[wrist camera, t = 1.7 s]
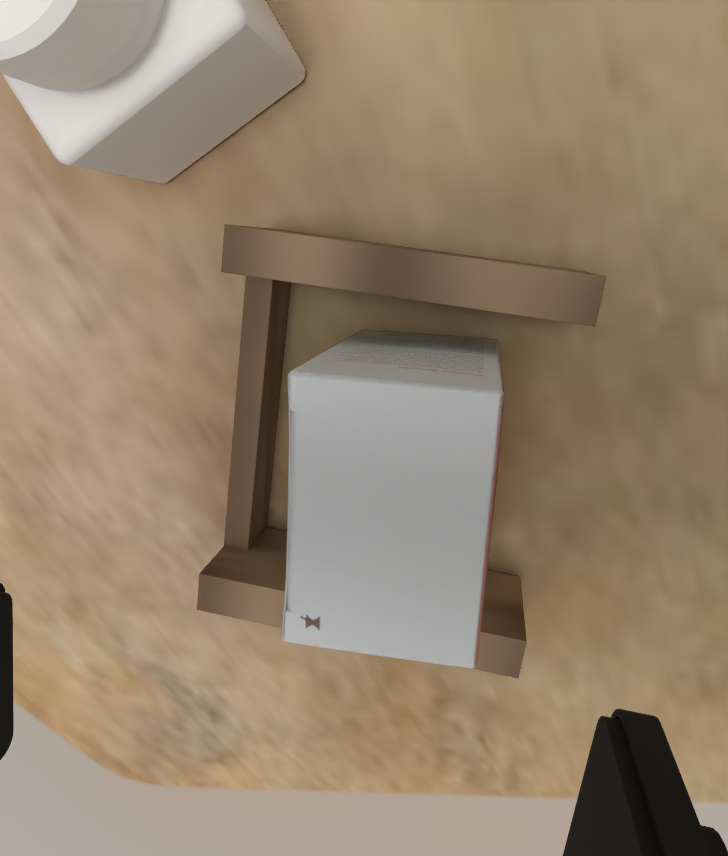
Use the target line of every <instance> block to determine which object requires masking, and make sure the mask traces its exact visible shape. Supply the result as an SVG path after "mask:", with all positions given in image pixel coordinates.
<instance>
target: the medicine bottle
mask: <svg viewBox="0 0 728 856" xmlns="http://www.w3.org/2000/svg"><path fill="white" fill-rule="evenodd" d="M0 73H1V74H2V75H3V76H4V78H5V80H6V81H7V83H8V84H9V86H10V87H11V89H12V91H13V92H14V94H15V95H16V97H17V98H18V100H19V101H20V103H21V105H22V106H23V108H24V109H25V111H26V112H27V114H28V115H29V117H30V119H31V120H32V122H33V123H34V125H35V126H36V128H37V130H38V131H39V133H40V134H41V136H42V137H43V139H44V140H45V142H46V144H47V145H48V147H49V148H50V150H51V151H52V153H53V154H54V156H55V157H56V158H57V159H58V160H59V161H60V162H61V163H62V164H66V165H71V166H76V167H81V168H86V169H91V170H96V171H101V172H106V173H111V174H117V175H122V176H127V177H132V178H137V179H142V180H147V181H152V182H157V183H162V184H163V183H166V182H168V181H170V180H171V179H172V178H174V177H175V176H176V175H178V174H179V173H180V172H182V171H183V170H184V169H186V168H187V167H188V166H190V165H191V164H193V163H194V162H195V161H197V160H198V159H199V158H201V157H202V156H203V155H205V154H206V153H207V152H209V151H210V150H211V149H213V148H214V147H215V146H217V145H218V144H219V143H221V142H222V141H223V140H225V139H226V138H227V137H229V136H230V135H231V134H233V133H234V132H235V131H237V130H238V129H239V128H241V127H242V126H243V125H245V124H246V123H247V122H249V121H250V120H251V119H253V118H254V117H255V116H257V115H258V114H259V113H261V112H262V111H263V110H265V109H266V108H267V107H269V106H270V105H271V104H273V103H274V102H276V101H277V100H278V99H280V98H281V97H282V96H284V95H285V94H286V93H288V92H289V91H290V90H292V89H293V88H294V87H296V86H297V85H298V84H300V83H301V82H302V81H303V80H304V78H305V69H304V66H303V64H302V63H301V61H300V59H299V57H298V56H297V54H296V52H295V50H294V49H293V47H292V45H291V44H290V42H289V40H288V38H287V37H286V35H285V33H284V32H283V30H282V28H281V26H280V25H279V23H278V21H277V19H276V18H275V16H274V14H273V13H272V11H271V9H270V7H269V6H268V4H267V2H266V0H0Z"/></svg>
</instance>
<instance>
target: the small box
mask: <svg viewBox="0 0 728 856" xmlns="http://www.w3.org/2000/svg"><path fill="white" fill-rule="evenodd" d="M288 402H289V472H288V521H287V557H286V582H285V601H284V611H283V625H282V637H281V638H282V640H283V641H284V642H289V643H296V644H302V645H309V646H315V647H321V648H329V649H335V650H342V651H349V652H356V653H363V654H370V655H377V656H384V657H391V658H398V659H405V660H411V661H418V662H425V663H432V664H440V665H447V666H456V667H464V668H469V669H473V668H475V667H476V666H477V661H478V651H479V641H480V631H481V622H482V613H483V604H484V595H485V586H486V577H487V569H488V560H489V551H490V543H491V533H492V523H493V513H494V503H495V493H496V482H497V471H498V460H499V448H500V435H501V424H502V413H503V402H504V389H503V381H502V372H501V366H500V357H499V351H498V342H497V341H496V340H489V339H478V338H467V337H454V336H440V335H426V334H413V333H399V332H384V331H367V330H361V331H359V332H357V333H356V334H354V335H352V336H351V337H349V338H347V339H345V340H344V341H342V342H340V343H338V344H336V345H334V346H333V347H331V348H329V349H328V350H326V351H324V352H322V353H321V354H319V355H317V356H316V357H314V358H312V359H310V360H309V361H307V362H305V363H304V364H302V365H300V366H298V367H297V368H295V369H293V370H292V371H290V372H289V374H288Z"/></svg>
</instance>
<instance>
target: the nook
mask: <svg viewBox="0 0 728 856" xmlns="http://www.w3.org/2000/svg"><path fill="white" fill-rule="evenodd" d="M221 272H226V273H232V274H239V275H246V283H245V295H244V308H243V320H242V332H241V344H240V357H239V369H238V381H237V393H236V405H235V418H234V430H233V442H232V454H231V467H230V479H229V491H228V503H227V516H226V528H225V540H224V547H223V548H222V549H221V550H220V551H219V552H218V554H217V555H216V556H215V557H214V558H213V559H212V560H211V561H210V563H209V564H208V565H207V566H206V567H205V568H204V569H203V570H202V572H201V573H200V574H199V588H198V602H197V610H201V611H206V612H210V613H215V614H220V615H224V616H229V617H234V618H238V619H243V620H248V621H252V622H257V623H262V624H266V625H271V626H276V627H281V628H282V625H283V611H284V601H285V582H286V557H287V531H284V530H278V529H273V528H268V527H267V517H268V507H269V497H270V487H271V477H272V467H273V457H274V446H275V436H276V426H277V416H278V406H279V396H280V386H281V376H282V366H283V356H284V345H285V335H286V325H287V315H288V305H289V295H290V285H291V282H294V283H301V284H308V285H314V286H321V287H328V288H335V289H342V290H349V291H356V292H362V293H369V294H376V295H383V296H390V297H397V298H403V299H410V300H417V301H424V302H431V303H438V304H444V305H451V306H458V307H465V308H472V309H479V310H486V311H492V312H499V313H506V314H513V315H520V316H527V317H533V318H540V319H547V320H554V321H561V322H568V323H574V324H581V325H588V326H596V322H597V317H598V312H599V308H600V303H601V299H602V294H603V290H604V285H605V280H606V277H605V276H601V275H597V274H593V273H589V272H585V271H577V270H570V269H563V268H555V267H548V266H541V265H533V264H526V263H519V262H511V261H504V260H497V259H489V258H482V257H475V256H467V255H460V254H453V253H445V252H438V251H431V250H423V249H416V248H409V247H401V246H394V245H387V244H379V243H372V242H365V241H357V240H350V239H343V238H335V237H328V236H321V235H313V234H306V233H299V232H291V231H284V230H277V229H268V228H257V227H246V226H235V225H225V228H224V242H223V256H222V270H221ZM525 646H526V631H525V621H524V611H523V601H522V590H521V580H520V576H514V575H509V574H504V573H499V572H494V571H489V570H487V577H486V586H485V595H484V604H483V613H482V622H481V631H480V641H479V651H478V661H477V666H476V667H475V668H473V669H477V670H482V671H486V672H491V673H496V674H500V675H505V676H510V677H514V678H519V673H520V669H521V664H522V659H523V655H524V650H525Z"/></svg>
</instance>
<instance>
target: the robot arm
mask: <svg viewBox="0 0 728 856" xmlns="http://www.w3.org/2000/svg"><path fill="white" fill-rule="evenodd" d="M12 737H13V617H12V598H11V596H10V594H8V593H5V588H4V586H3V585H2V584H1V583H0V760H1V759H2V757H3V756H4V755H5V753H6V751H7V750H8V748H9V746H10V744H11V741H12ZM563 856H728V851H727V849H726V846H725V844H724V842H723V840H722V838H721V837H720V835H719V833H718V832H717V831H715V830H714V829H713V828H710V827H706V826H701V825H700V823H699V821H698V818H697V815H696V813H695V810H694V808H693V805H692V802H691V800H690V797H689V795H688V792H687V790H686V787H685V784H684V782H683V779H682V777H681V774H680V772H679V769H678V767H677V764H676V761H675V759H674V756H673V754H672V751H671V749H670V746H669V743H668V741H667V738H666V736H665V733H664V731H663V728H662V726H661V723H660V721H659V719H658V718H657V717H655V716H651V715H646V714H641V713H636V712H632V711H627V710H622V709H616V710H615V711H614V712H613V714H612V717H611V718H610V717H605V716H601V717H600V718H599V720H598V723H597V726H596V730H595V734H594V738H593V742H592V745H591V749H590V753H589V757H588V761H587V765H586V769H585V772H584V776H583V780H582V784H581V788H580V792H579V795H578V799H577V803H576V807H575V811H574V815H573V819H572V822H571V826H570V830H569V834H568V838H567V842H566V846H565V850H564V853H563Z"/></svg>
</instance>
